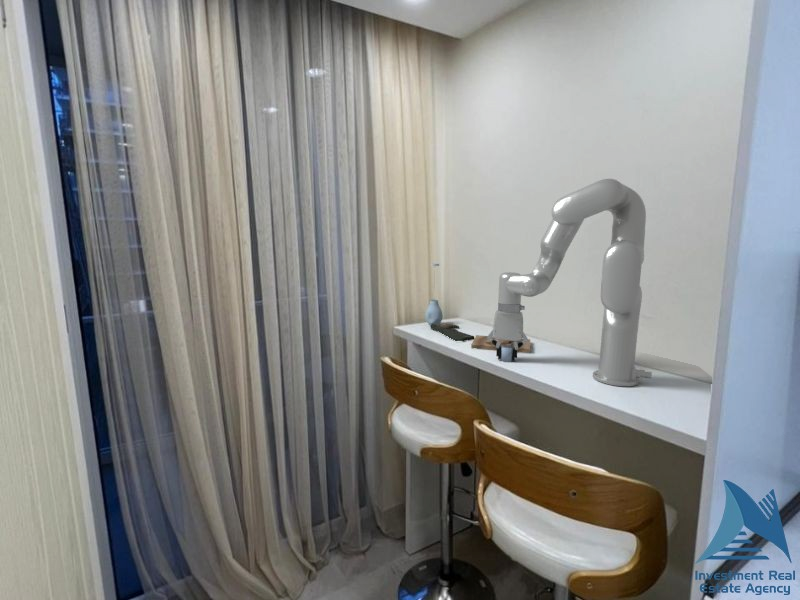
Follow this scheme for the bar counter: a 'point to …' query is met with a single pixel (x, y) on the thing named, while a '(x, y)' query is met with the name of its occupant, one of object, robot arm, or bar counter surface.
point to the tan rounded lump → (503, 342)
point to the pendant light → (434, 309)
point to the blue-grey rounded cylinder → (506, 353)
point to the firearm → (452, 332)
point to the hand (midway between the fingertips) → (506, 358)
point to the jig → (484, 343)
